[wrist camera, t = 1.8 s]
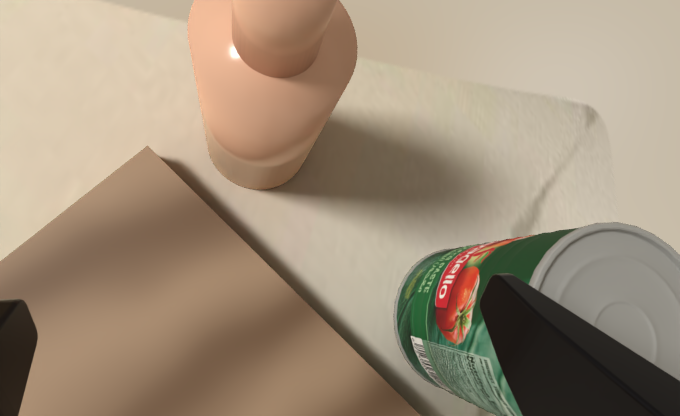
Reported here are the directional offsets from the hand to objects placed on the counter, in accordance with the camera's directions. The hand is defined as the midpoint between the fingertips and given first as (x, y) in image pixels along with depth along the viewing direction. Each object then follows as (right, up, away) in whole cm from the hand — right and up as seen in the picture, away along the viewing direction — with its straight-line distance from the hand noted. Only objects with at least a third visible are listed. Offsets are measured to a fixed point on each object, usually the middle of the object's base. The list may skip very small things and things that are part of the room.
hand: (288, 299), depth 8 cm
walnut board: (-6, -7, +12) cm, 15 cm away
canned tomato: (+8, -5, +16) cm, 18 cm away
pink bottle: (-3, +5, +15) cm, 16 cm away
